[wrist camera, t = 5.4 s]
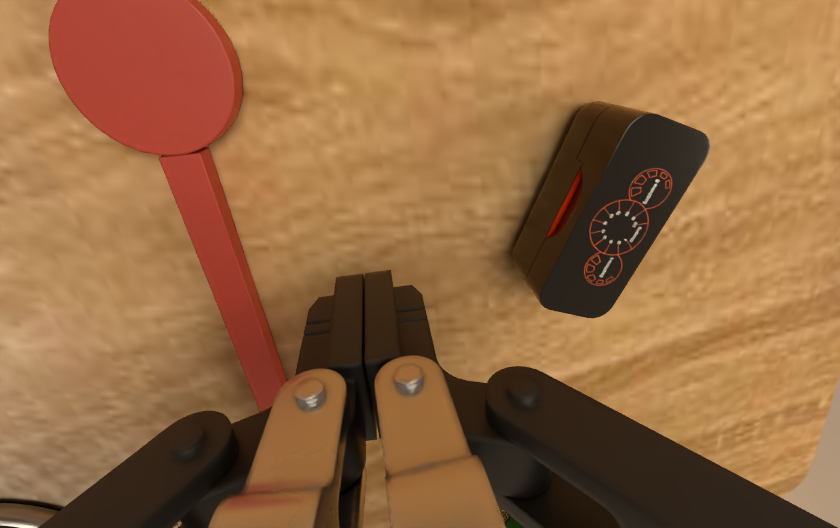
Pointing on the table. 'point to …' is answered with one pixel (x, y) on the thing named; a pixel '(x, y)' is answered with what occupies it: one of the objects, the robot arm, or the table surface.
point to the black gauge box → (605, 205)
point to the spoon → (172, 133)
